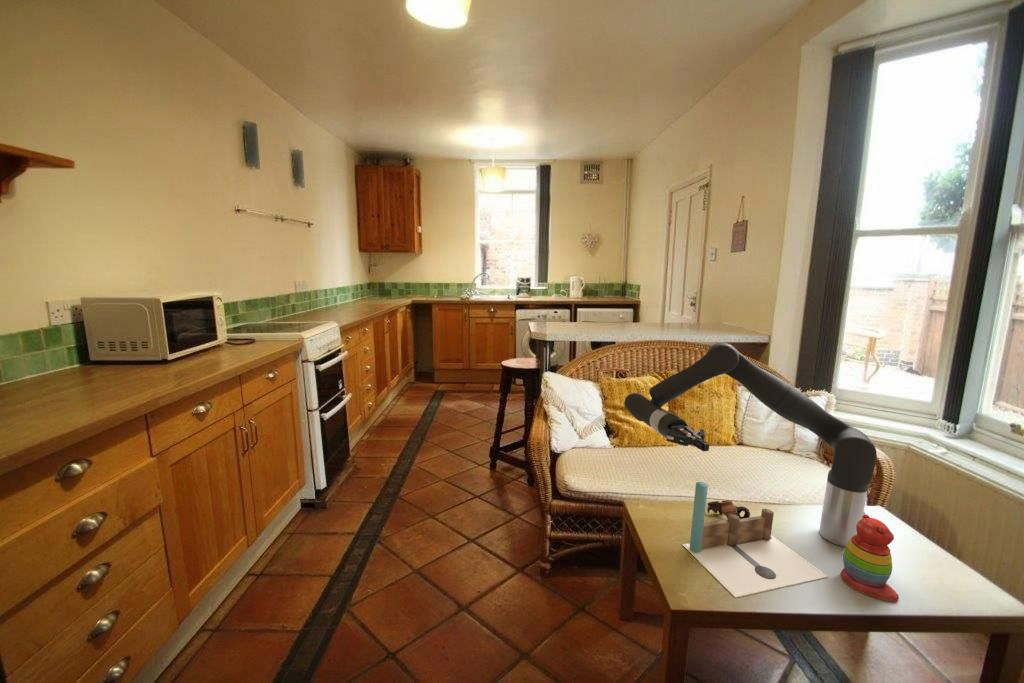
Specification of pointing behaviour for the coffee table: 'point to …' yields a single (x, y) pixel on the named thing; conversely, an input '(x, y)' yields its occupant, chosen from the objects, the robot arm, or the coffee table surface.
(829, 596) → the coffee table surface
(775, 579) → the card
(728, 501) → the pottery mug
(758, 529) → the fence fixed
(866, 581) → the stacking bear
